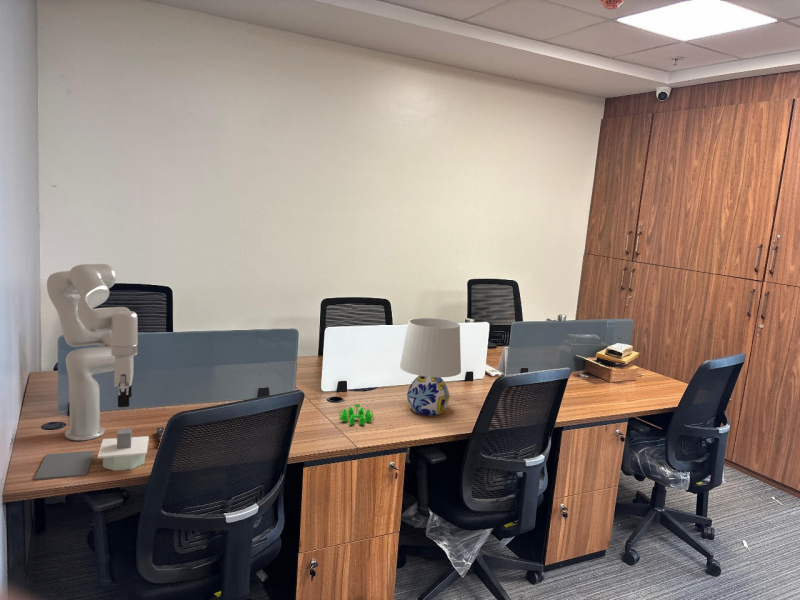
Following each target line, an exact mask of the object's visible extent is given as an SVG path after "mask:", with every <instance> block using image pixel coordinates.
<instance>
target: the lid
mask: <svg viewBox="0 0 800 600" xmlns="http://www.w3.org/2000/svg"><path fill="white" fill-rule="evenodd" d="M132 429H133V428H119V429H117V432H116V437H115V438H103V439H102V442H101V445H100V448H99V451H98V455H97V459H103V458H107V457H120V456H134V455H145V456H146V455H148V448H149V440H150V437H149V436H148V435H147V436H133V434H132V433H133V430H132ZM132 436H133V437H132Z"/></svg>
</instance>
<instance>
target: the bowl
mask: <svg viewBox="0 0 800 600" xmlns="http://www.w3.org/2000/svg"><path fill="white" fill-rule="evenodd" d="M145 459H146V455H134V456H120V457H107V458H102V467H103V468H104V469H108V470H111V471H115V472H116V471H127V469H129V470H133V469H135V468H137V466H138V467H139V465H140V466H142V465H145ZM141 464H142V465H141Z"/></svg>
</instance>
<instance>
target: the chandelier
mask: <svg viewBox="0 0 800 600" xmlns="http://www.w3.org/2000/svg"><path fill="white" fill-rule="evenodd" d="M354 407H355V408H356V411H355V410H354V408H353V406H349V407H348V410H347V408H346V409H345V408H343V409H341V410H340V411H339V413H340V414H339V420H340V422H341V423H347V422H348V423H349V426H351V425H352V426H353V425H355V423H356V420H355V419H359V420H358V421H359V425H360V426H362V425H363V426H365V424H366V423H370V422H371V423H370V424H372V423H373V422H374V420H375V417H374V412H373V411H372V410H370V409H366V410H365V411H364V408H363V407H361V405H360V404H357V403H355V404H354ZM355 412H356V413H355ZM341 417H342V418H341ZM372 419H373V420H372ZM363 426H362V427H363Z"/></svg>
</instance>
